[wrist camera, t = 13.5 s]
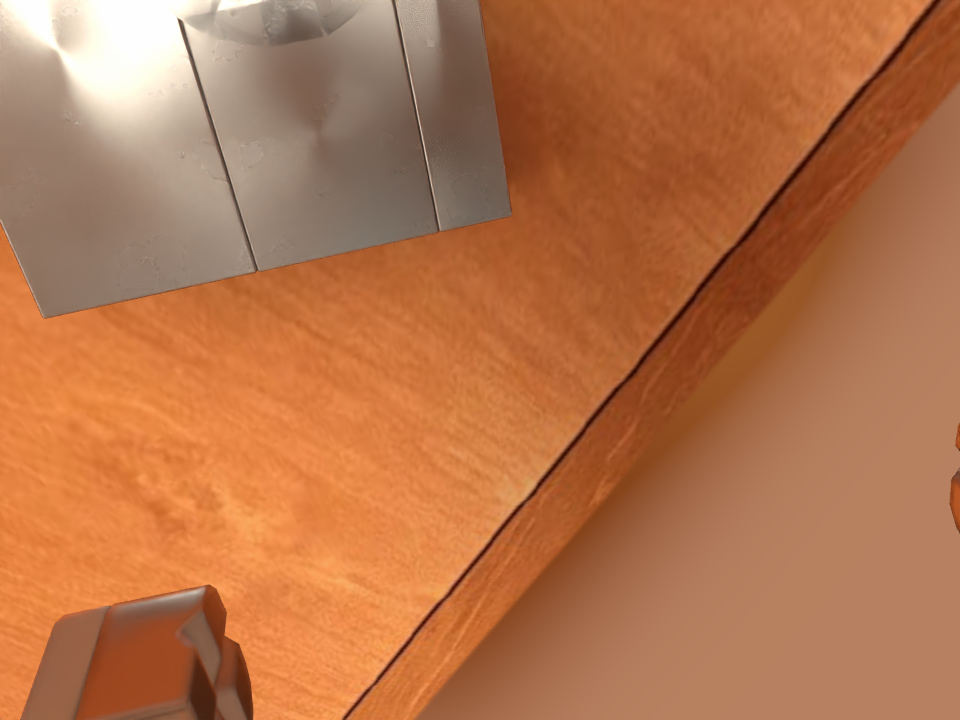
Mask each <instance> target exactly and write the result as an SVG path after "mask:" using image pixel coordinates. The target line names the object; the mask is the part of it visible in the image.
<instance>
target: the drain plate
mask: <svg viewBox="0 0 960 720" xmlns="http://www.w3.org/2000/svg"><path fill="white" fill-rule="evenodd" d="M511 216H512V208H511V201H510V195H509V188H508V181H507V175H506V168H505V162H504V155H503V148H502V142H501V135H500V129H499V122H498V115H497V109H496V102H495V96H494V89H493V82H492V76H491V69H490V63H489V56H488V49H487V43H486V36H485V29H484V23H483V16H482V10H481V3H480V0H0V223H1V225H2V228H3V230H4V232H5V234H6V237H7V239H8V241H9V243H10V246H11V248H12V250H13V252H14V255H15V257H16V259H17V261H18V263H19V266H20V268H21V270H22V272H23V275H24V277H25V279H26V281H27V284H28V286H29V288H30V290H31V293H32V295H33V297H34V299H35V302H36V304H37V306H38V308H39V311H40V313H41V315H42V317H43V318H45V319H46V318H51V317H55V316H60V315H64V314H69V313H73V312H78V311H83V310H87V309H92V308H96V307H101V306H106V305H110V304H115V303H119V302H124V301H128V300H133V299H138V298H142V297H147V296H151V295H156V294H161V293H165V292H170V291H174V290H179V289H183V288H188V287H193V286H197V285H202V284H206V283H211V282H216V281H220V280H225V279H229V278H234V277H238V276H243V275H248V274H252V273H256V272H257V270H258V271H259V272H262V271H267V270H271V269H276V268H280V267H285V266H290V265H294V264H299V263H303V262H308V261H312V260H317V259H322V258H326V257H331V256H335V255H340V254H345V253H349V252H354V251H358V250H363V249H367V248H372V247H377V246H381V245H386V244H390V243H395V242H399V241H404V240H409V239H413V238H418V237H422V236H427V235H432V234H436V233H438V231H440V232H445V231H449V230H454V229H458V228H463V227H467V226H472V225H477V224H481V223H486V222H490V221H495V220H500V219H504V218H509V217H511Z"/></svg>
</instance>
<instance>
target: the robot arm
mask: <svg viewBox="0 0 960 720" xmlns="http://www.w3.org/2000/svg"><path fill="white" fill-rule="evenodd" d="M955 445H956V447H957V448H958V449H959V451H960V424H959V425H958V430H957V437H956V444H955ZM950 506H951V510H952V514H953V517H954V520H955V524H956V527H957V529H958V531H959V533H960V468H959V470H958V471H957V472H956V474H955V475H954V476H953V477H952V479H951V492H950ZM226 615H227V612H226V610H225V608H224V605H223V603H222V601H221V598H220V596H219V594H218V591H217V589H216V588H214V587H212V586H211V585H204V586H199V587H194V588H189V589H185V590H180V591H175V592H170V593H165V594H160V595H155V596H150V597H145V598H141V599H136V600H131V601H126V602H121V603H116V604H113V605H112V606H104V607H99V608H95V609H90V610H85V611H81V612H76V613H71V614H67V615H64V616H63V617H62V618H61V619H59V620H58V621H57V622H56V623H55V625H54V626H53V629H52V631H51V634H50V637H49V640H48V643H47V645H46V648H45V651H44V654H43V657H42V659H41V662H40V665H39V668H38V671H37V674H36V676H35V679H34V682H33V685H32V688H31V690H30V693H29V696H28V699H27V702H26V704H25V707H24V710H23V713H22V716H21V719H20V720H253V703H252V692H251V682H250V678H249V674H248V670H247V666H246V662H245V659H244V656H243V654H242V651H241V648H240V646H239V644H238V643H236V642H234V641H233V640H231V639H229V638H228V637H226V636H224V633H225V624H226Z"/></svg>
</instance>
